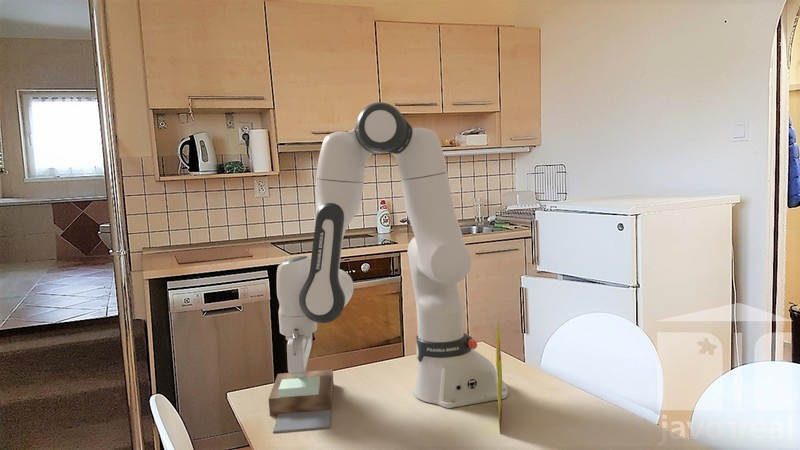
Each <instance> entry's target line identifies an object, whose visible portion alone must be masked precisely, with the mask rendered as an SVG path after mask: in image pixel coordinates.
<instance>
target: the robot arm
mask: <svg viewBox="0 0 800 450" xmlns="http://www.w3.org/2000/svg"><path fill="white" fill-rule="evenodd" d="M355 123H356V124H355V126H354V127H353V128H352V130H349V131H334V132H332V133H329V134H328V135H326V137H324V139H323V141H322V144H321V148H320V151H319V155H318V160H317V167H316V176H315V177H316V178H315V194H314V195H315V197H314V198H315V216H314V217H315V218H314V219H315V220H314V221H315V222H314V224H315V225H314V231H313V232H314V233H313V234H314V235H313V241H312V249H311V257H309V256H307V255H299V256H298V255H297V256H295V257H290V258H288V259H284V260H283V261H282V262H280V263H279V264H278V266H277V270H276V296H277V300H278V304H279V306H278V307H279V308H278V324H279V334H281V335H283V336H285V340H286V341H287V343H286V353H287V354H286V355H287V356H286V357H287V371H288V372H287V373H289V374H290V375H297V377H298V378H306V372H307V364H308V360H309V357H310V352H311V349H312V345H313V333H314V332H316V331H317V330H318V324H317V323H319V324H328V323H331V322H333V321H335V320H336V319H338V318H339V317H340V316H341V315H342V312H343V310H344V308H345V307H346V305H347V304H348V303H349V302H350V300H351V298H352V297H353V295H354V292H355V284H354V280H353V278H352V277H351V275H350V274H349V273H348V272H347V271H345V270H344V269H341V268H340V267H341V266H340V265H341V256H342V247H343V241H344V236H345V233H346V231H347V229H348V227H349V225H350V224H351V222H352V220H353V219H354V218H355V216H356V215H357V213H358V212H359V209H360V206H361V202H362V198H363V193H364V184H365V183H364V182H365V173H366V171H365V170H366V164H367V162H368V160H369V158H370V157H371V156H372V155H373V156H375V155H378V154H385V153H387V154H391V155H393V157H394V158H395V160H396V163H397V166H398V170H399V171H398V172H399V177H400V178H399V179H400V184H401V189H402V194H403V195H402V197H403V200H404V207H405V208H404V209H405V213H406V216H407V217H408V220H409V223H410V226H411V230H412V233H413V237H412V238H411V239H410V241H409V243H408V246H407V256H408V257H407V258H408V261H409V269H410V275H411V276H410V277H411V283H412V289H413V293H414V298H415V304H416V305H415V307H416V323H417V325H416V326H417V335H416V337H415V338H416V339H415V340H416V342H415V349H416V350H415V352H416V358H417V362H418V363H417V365H418V366H417V374H416V375H417V376H416V382H415V385H414V386H415V387H414V391H413V394H414V396H415V397H416V398H417V399H419V400H421V401H422V402H427V403H430V404H435V405H439V406H440V407H443V408H448V409H452V408H456V407H463V406H469V405H474V404H480V403H486V402H492V401H498V393H497V376H496V366H494V364H493V362H491V360H490V359H489V358H487V357H486V356H484V354H483V355H482V354H481V352H478V351H477V350H475V349H477V347H478V342H477V341H476V339H475V338H473V337H472V336H471V335H469V334H468V333H467V332H464V331H465V330H464V328H465V327H464V308H463V307H464V306H463V301H462V297H461V295H460V292H459V291H460V290H459V288H458V283H460V282H461V281H463V280H464V279H465V278H466V277H467V276H468V274H469V273H470V271H471V267H472V258H471V257H472V256H471V253H470V251H469V250H468V248H467V245H466V243H465V238H464V236H463V234H462V233H463V232H462V230H461V226H460V223H459V220H458V217H457V214H456V210H455V208H454V205H453V204H454V202H453V198H452V192H451V186H450V180H449V175H448V173H449V172H448V169H447V163H446V162H447V161H446V157H445V154H444V150H443V148H442V145H441V142H440V139H439V136H438V134H437V133H436V132H435V131H434V130H432V129H429V128H427V127H412V125H411V124H410V123H409V122H408V120H407V119H406V118H405V116H404V115H403V114H402V113H401V112H400V110H399V109H397V107H395V106H393V105H392V104H390V103H387V102H379V101H377V102H373V103H370V104H369V105H366V106H365V107H364V108H363V109H362V110H361V111H360V113H359V115H358V116H357V117H356V122H355ZM508 395H509V390H508V385H507V384H506V383H505V381H504V380H503V379H502V400H503V399H506V398H507V397H508Z"/></svg>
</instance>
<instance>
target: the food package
mask: <svg viewBox="0 0 800 450" xmlns="http://www.w3.org/2000/svg"><path fill="white" fill-rule="evenodd" d="M500 334H501V333H500V319H498V322H497V329H496V338H495V339H496V342H495V343H496V344H495V363H496V365H495V370H496V376H497V393H498V400H497V402H498V403H497V405H498V424H499V425H498V426H499V431H501V429H502V419H503V417H502V416H503V415H502V412H503V399H502V380H503V370H502V368H503V367H502V366H503V365H502V352H501V351H502V350H501V338H500V337H501V335H500Z"/></svg>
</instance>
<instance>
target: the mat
mask: <svg viewBox="0 0 800 450" xmlns="http://www.w3.org/2000/svg"><path fill="white" fill-rule="evenodd" d="M331 416H332V409H331V410H322V411H310V412H298V413H286V414H278V415H277V417H276V421H275V424H274V427H273V431H272V433H273V434H277V433H288V432H299V431H311V430H323V429H330V427H331V418H332V417H331Z"/></svg>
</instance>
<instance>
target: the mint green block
mask: <svg viewBox="0 0 800 450" xmlns="http://www.w3.org/2000/svg"><path fill="white" fill-rule="evenodd" d="M319 389H320V377H309V378H296V379H283V380H282V381H281V383H280V386H279V389H278V391H279V398H281V397H293V396H306V395H319Z"/></svg>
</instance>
